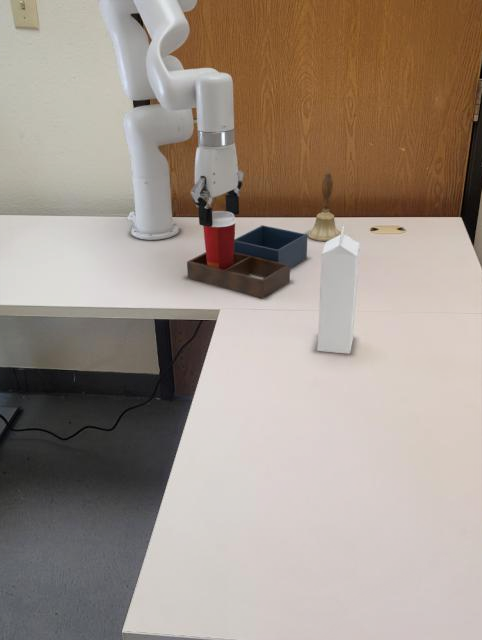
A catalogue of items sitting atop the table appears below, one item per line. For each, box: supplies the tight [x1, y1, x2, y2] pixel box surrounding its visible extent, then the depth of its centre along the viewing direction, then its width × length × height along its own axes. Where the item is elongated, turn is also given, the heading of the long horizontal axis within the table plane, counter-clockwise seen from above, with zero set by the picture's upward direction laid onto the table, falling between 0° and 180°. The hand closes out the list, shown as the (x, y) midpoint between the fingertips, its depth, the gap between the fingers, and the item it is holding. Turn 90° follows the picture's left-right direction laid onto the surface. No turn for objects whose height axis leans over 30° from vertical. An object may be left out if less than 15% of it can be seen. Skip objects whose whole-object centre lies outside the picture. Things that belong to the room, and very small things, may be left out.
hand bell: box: [307, 172, 341, 242], centre depth 180 cm, size 8×8×16 cm
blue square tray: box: [234, 224, 309, 270], centre depth 169 cm, size 13×13×6 cm
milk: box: [316, 225, 361, 355], centre depth 128 cm, size 6×6×22 cm
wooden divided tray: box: [186, 251, 291, 299], centre depth 160 cm, size 20×11×4 cm, turn 54°
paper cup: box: [202, 210, 237, 270], centre depth 160 cm, size 8×8×14 cm
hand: (219, 219), depth 157 cm, fingers open, 9 cm apart
